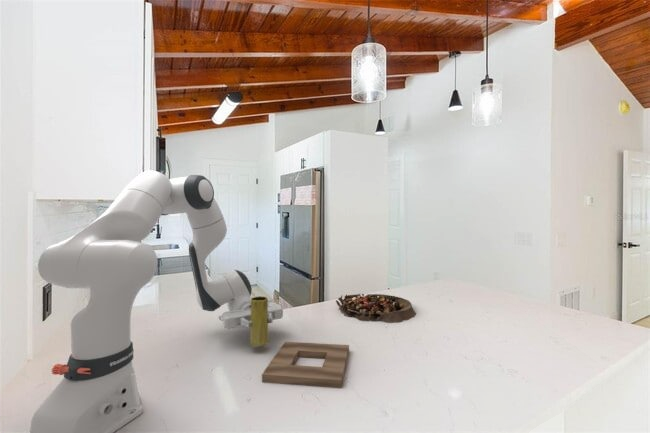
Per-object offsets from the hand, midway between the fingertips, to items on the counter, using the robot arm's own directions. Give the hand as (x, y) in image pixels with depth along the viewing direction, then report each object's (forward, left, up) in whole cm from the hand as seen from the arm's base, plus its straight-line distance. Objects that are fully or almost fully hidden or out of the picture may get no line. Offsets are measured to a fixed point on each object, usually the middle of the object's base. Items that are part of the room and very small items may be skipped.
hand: (260, 322), depth 103 cm
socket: (-7, -17, -9) cm, 21 cm away
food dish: (+46, -36, -10) cm, 59 cm away
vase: (+1, +1, -7) cm, 7 cm away
